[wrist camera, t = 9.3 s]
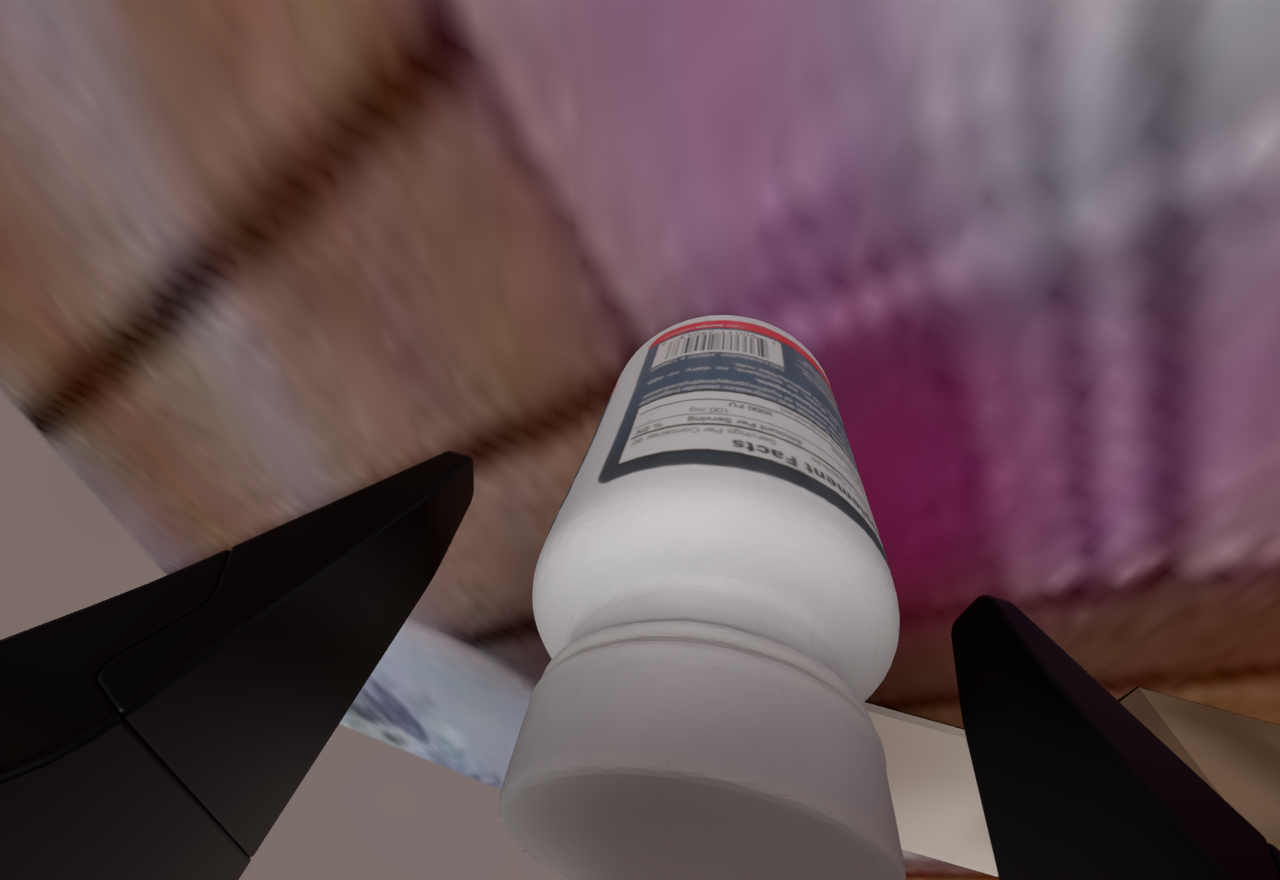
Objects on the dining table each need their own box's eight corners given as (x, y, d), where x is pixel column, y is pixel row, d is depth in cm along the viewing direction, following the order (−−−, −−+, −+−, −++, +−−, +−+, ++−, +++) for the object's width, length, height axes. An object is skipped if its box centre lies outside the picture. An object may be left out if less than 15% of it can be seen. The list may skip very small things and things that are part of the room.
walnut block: (1307, 733, 15) (1617, 1045, 9) (1177, 807, 17) (1365, 1083, 12) (1138, 687, 15) (1353, 971, 10) (1035, 767, 17) (1161, 1023, 12)
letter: (1166, 786, 17) (1174, 799, 17) (994, 868, 23) (997, 879, 23) (777, 677, 18) (777, 688, 17) (703, 784, 23) (703, 794, 23)
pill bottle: (723, 524, 14) (699, 963, 7) (577, 415, 13) (361, 809, 6) (883, 410, 11) (1130, 950, 4) (716, 257, 10) (641, 637, 3)
